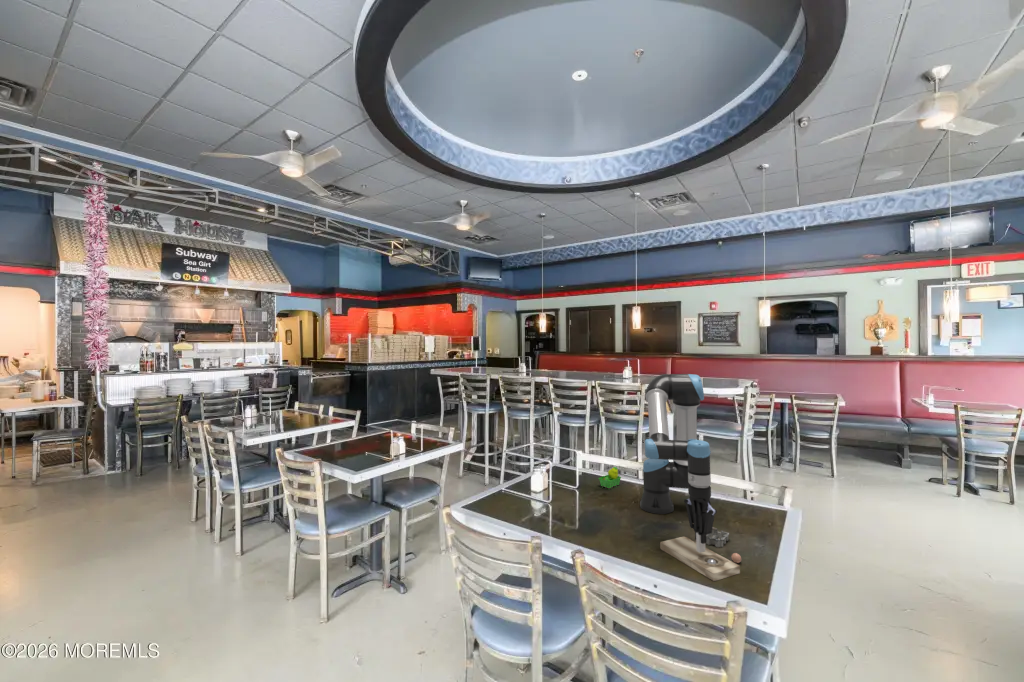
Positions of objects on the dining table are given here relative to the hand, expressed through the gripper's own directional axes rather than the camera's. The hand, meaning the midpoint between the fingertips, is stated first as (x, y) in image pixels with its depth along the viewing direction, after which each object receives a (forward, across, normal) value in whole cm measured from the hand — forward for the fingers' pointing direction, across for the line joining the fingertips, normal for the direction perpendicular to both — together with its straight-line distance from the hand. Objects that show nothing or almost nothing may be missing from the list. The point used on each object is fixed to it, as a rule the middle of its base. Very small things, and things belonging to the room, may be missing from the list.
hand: (701, 550), depth 153 cm
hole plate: (+4, -2, 0) cm, 4 cm away
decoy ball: (+3, +5, +11) cm, 13 cm away
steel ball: (+3, +5, 0) cm, 5 cm away
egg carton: (+5, -10, +18) cm, 22 cm away
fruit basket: (+4, -82, +20) cm, 84 cm away
